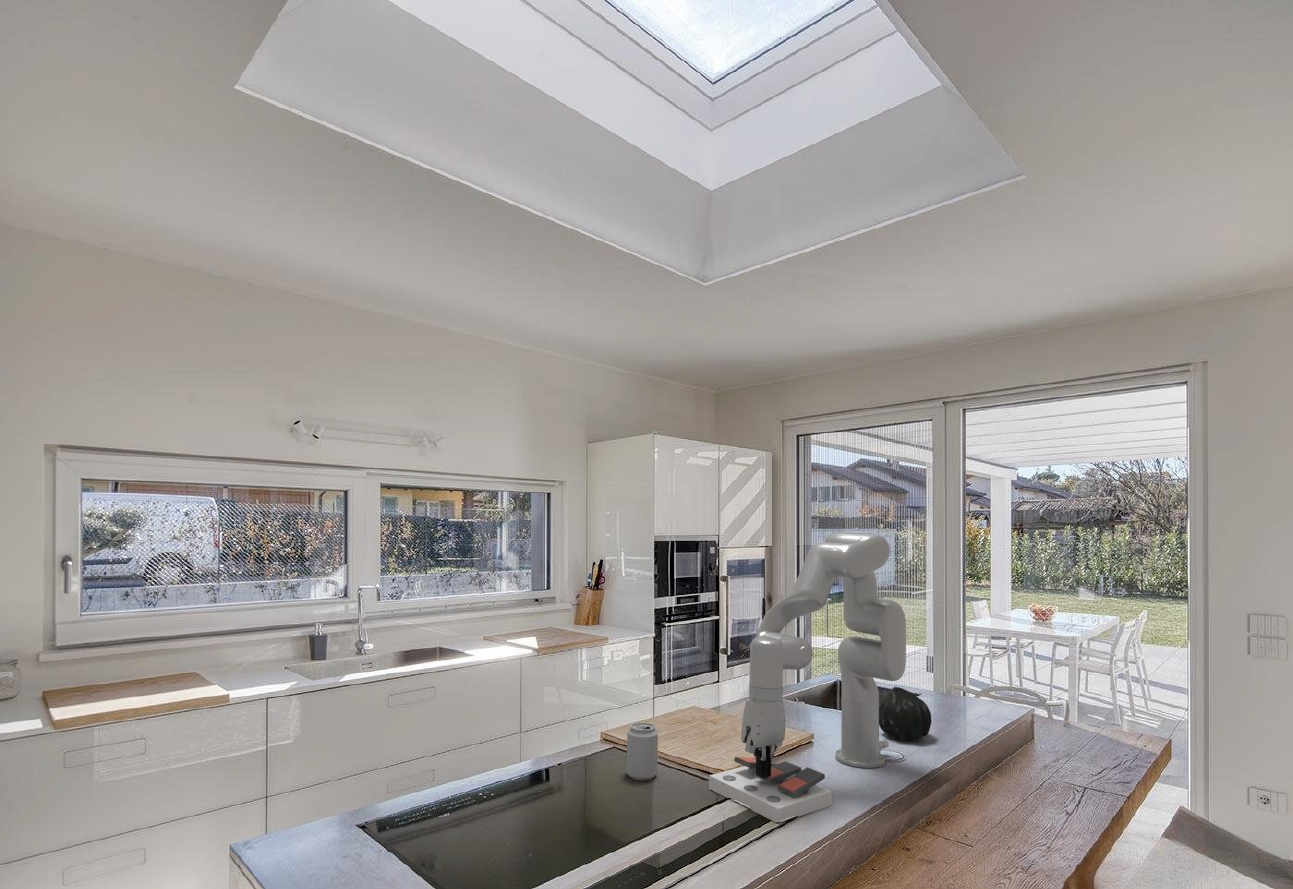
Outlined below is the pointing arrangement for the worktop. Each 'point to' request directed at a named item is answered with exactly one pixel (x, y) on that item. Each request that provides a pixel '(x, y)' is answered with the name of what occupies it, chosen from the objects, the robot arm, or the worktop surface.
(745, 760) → the rocker
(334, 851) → the worktop surface
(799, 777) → the rocker
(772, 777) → the rocker middle
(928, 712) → the squash
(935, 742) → the worktop surface
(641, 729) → the can
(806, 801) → the rocker switch panel
